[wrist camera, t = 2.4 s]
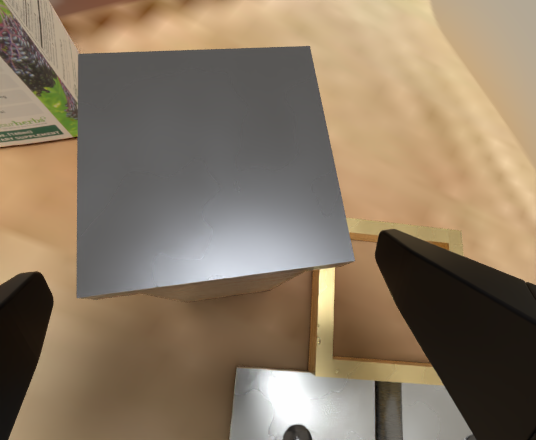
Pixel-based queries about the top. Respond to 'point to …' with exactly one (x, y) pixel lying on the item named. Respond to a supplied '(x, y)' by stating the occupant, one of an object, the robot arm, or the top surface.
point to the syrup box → (36, 74)
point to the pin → (203, 174)
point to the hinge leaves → (348, 379)
